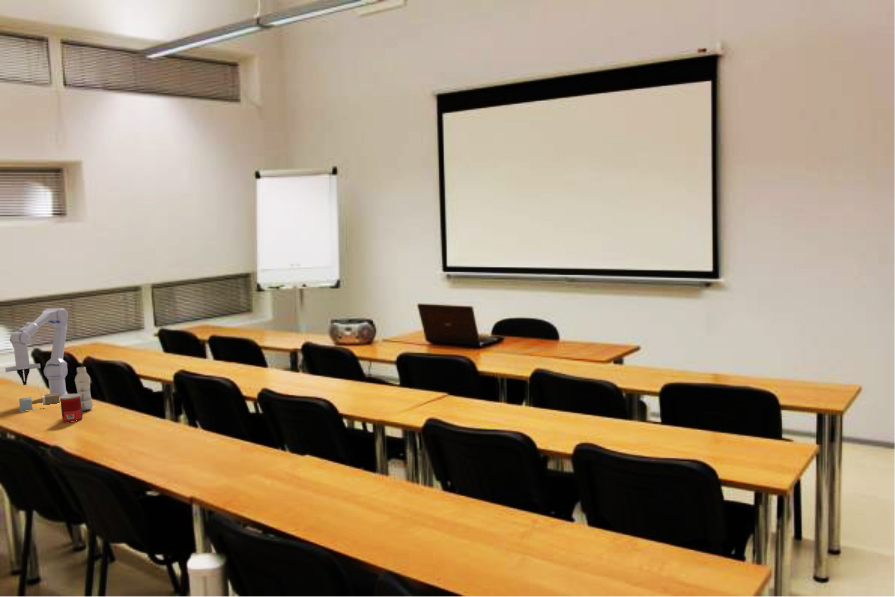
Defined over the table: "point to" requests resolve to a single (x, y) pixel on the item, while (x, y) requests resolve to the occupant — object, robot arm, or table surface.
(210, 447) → the table surface
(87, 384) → the plastic bottle
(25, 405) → the gray block
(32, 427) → the table surface
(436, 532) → the table surface
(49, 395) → the walnut block
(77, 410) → the canned food
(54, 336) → the robot arm
